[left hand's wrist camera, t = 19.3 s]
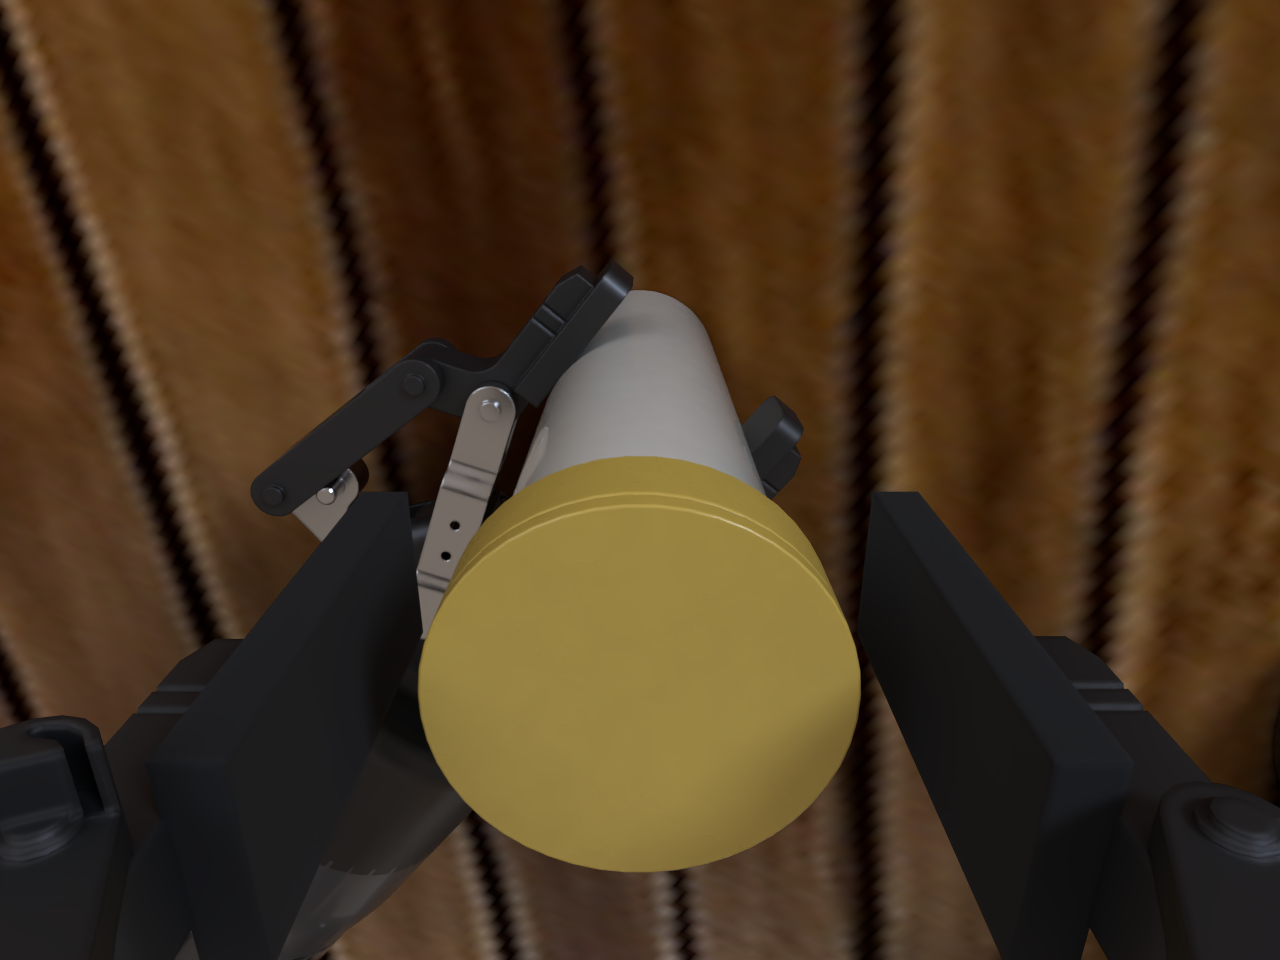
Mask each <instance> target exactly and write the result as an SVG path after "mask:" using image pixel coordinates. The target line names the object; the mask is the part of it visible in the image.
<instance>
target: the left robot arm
mask: <svg viewBox="0 0 1280 960" xmlns="http://www.w3.org/2000/svg"><path fill="white" fill-rule="evenodd" d="M422 634H423V625H422V617H421V608H420V599H419V590H418V581H417V573H416V564H415V555H414V546H413V537H412V529H411V520H410V511H409V502H408V493H407V492H361V494H360V495H359V496H358V497H357V499H356V500H355V501H354V502H353V504H352V505H351V506H350V507H349V509H348V510H347V511H346V512H345V514H344V515H343V516H342V517H341V519H340V520H339V521H338V522H337V524H336V525H335V526H334V527H333V529H332V530H331V531H330V532H329V534H328V535H327V536H326V537H325V539H324V540H323V541H322V542H321V544H320V545H319V546H318V547H317V549H316V550H315V551H314V552H313V554H312V555H311V556H310V557H309V559H308V560H307V561H306V562H305V563H304V565H303V566H302V567H301V568H300V570H299V571H298V572H297V573H296V575H295V576H294V577H293V578H292V580H291V581H290V582H289V583H288V585H287V586H286V587H285V588H284V590H283V591H282V592H281V593H280V595H279V596H278V597H277V598H276V600H275V601H274V602H273V603H272V605H271V606H270V607H269V608H268V610H267V611H266V612H265V613H264V615H263V616H262V617H261V618H260V620H259V621H258V622H257V623H256V625H255V626H254V627H253V628H252V630H251V631H250V632H249V633H248V635H247V636H246V637H245V638H244V639H214V640H213V641H211V642H210V643H208V644H206V645H205V646H203V647H202V648H200V649H198V650H197V651H195V652H194V653H192V654H190V655H189V656H187V657H186V658H184V659H183V660H181V661H180V662H179V663H178V664H177V665H176V666H175V667H174V668H173V670H172V671H171V672H170V673H169V674H168V675H167V676H166V677H165V679H164V680H163V681H162V682H161V683H160V684H159V685H158V686H157V692H152V693H151V694H150V695H149V697H148V698H147V699H146V700H145V701H144V702H143V703H142V704H141V706H140V707H139V708H138V713H137V714H133V715H132V716H131V717H130V718H129V719H128V720H127V721H126V722H125V723H124V725H123V726H122V727H121V728H120V729H119V730H118V731H117V732H116V734H115V735H114V736H113V737H112V738H111V739H110V740H109V741H108V743H107V744H106V745H105V746H104V745H103V742H102V739H101V735H100V732H99V728H98V727H96V726H95V725H94V724H92V723H91V722H89V721H88V720H86V719H85V718H78V717H71V716H64V715H61V716H52V717H44V718H35V719H31V720H27V721H24V722H20V723H17V724H14V725H10V726H7V727H4V728H0V960H174V959H175V958H176V956H177V954H178V952H179V951H180V949H181V947H182V945H183V944H184V942H185V940H186V938H187V937H188V935H189V933H190V931H192V935H193V938H194V942H195V945H196V949H197V953H198V956H199V960H278V957H279V955H280V953H281V951H282V948H283V946H284V944H285V942H286V939H287V937H288V935H289V933H290V930H291V928H292V926H293V924H294V921H295V919H296V917H297V915H298V912H299V910H300V908H301V906H302V903H303V901H304V899H305V897H306V894H307V892H308V890H309V888H310V885H311V883H312V881H313V879H314V876H315V874H316V872H317V870H318V867H319V865H320V863H321V861H322V858H323V856H324V854H325V852H326V849H327V847H328V845H329V843H330V840H331V838H332V836H333V834H334V831H335V829H336V827H337V825H338V823H339V820H340V818H341V816H342V814H343V811H344V809H345V807H346V805H347V802H348V800H349V798H350V796H351V793H352V791H353V789H354V787H355V784H356V782H357V780H358V778H359V775H360V773H361V771H362V769H363V766H364V764H365V762H366V760H367V757H368V755H369V753H370V751H371V748H372V746H373V744H374V742H375V739H376V737H377V735H378V733H379V730H380V728H381V726H382V724H383V721H384V719H385V717H386V715H387V712H388V710H389V708H390V706H391V703H392V701H393V699H394V697H395V694H396V692H397V690H398V688H399V685H400V683H401V681H402V679H403V676H404V674H405V672H406V670H407V667H408V665H409V663H410V661H411V658H412V656H413V654H414V652H415V649H416V647H417V645H418V643H419V640H420V638H421V636H422ZM857 634H858V636H859V638H860V640H861V643H862V645H863V647H864V649H865V652H866V654H867V656H868V658H869V661H870V663H871V665H872V667H873V670H874V672H875V674H876V676H877V679H878V681H879V683H880V685H881V688H882V690H883V692H884V694H885V697H886V699H887V701H888V703H889V706H890V708H891V710H892V712H893V715H894V717H895V719H896V721H897V724H898V726H899V728H900V730H901V733H902V735H903V737H904V739H905V742H906V744H907V746H908V748H909V751H910V753H911V755H912V757H913V760H914V762H915V764H916V766H917V769H918V771H919V773H920V775H921V778H922V780H923V782H924V784H925V787H926V789H927V791H928V793H929V796H930V798H931V800H932V802H933V805H934V807H935V809H936V811H937V814H938V816H939V818H940V820H941V823H942V825H943V827H944V829H945V832H946V834H947V836H948V838H949V840H950V843H951V845H952V847H953V849H954V852H955V854H956V856H957V858H958V861H959V863H960V865H961V867H962V870H963V872H964V874H965V876H966V879H967V881H968V883H969V885H970V888H971V890H972V892H973V894H974V897H975V899H976V901H977V903H978V906H979V908H980V910H981V912H982V915H983V917H984V919H985V921H986V924H987V926H988V928H989V930H990V933H991V935H992V937H993V939H994V942H995V944H996V946H997V948H998V951H999V953H1000V955H1001V957H1002V960H1081V956H1082V953H1083V949H1084V945H1085V942H1086V938H1087V935H1088V931H1089V927H1090V929H1091V931H1092V932H1093V934H1094V936H1095V937H1096V939H1097V941H1098V943H1099V944H1100V946H1101V948H1102V950H1103V951H1104V953H1105V955H1106V957H1107V958H1108V960H1280V808H1279V807H1277V806H1275V805H1273V804H1272V803H1270V802H1268V801H1266V800H1264V799H1262V798H1260V797H1259V796H1257V795H1254V794H1251V793H1248V792H1245V791H1242V790H1240V789H1237V788H1234V787H1231V786H1228V785H1224V784H1216V783H1212V782H1211V781H1210V780H1209V779H1208V778H1207V776H1206V775H1205V774H1204V773H1203V772H1202V771H1201V770H1200V769H1199V768H1198V766H1197V765H1196V764H1195V763H1194V762H1193V761H1192V760H1191V759H1190V758H1189V756H1188V755H1187V754H1186V753H1185V752H1184V751H1183V750H1182V749H1181V747H1180V746H1179V745H1178V744H1177V743H1176V742H1175V741H1174V740H1173V739H1172V737H1171V736H1170V735H1169V734H1168V733H1167V732H1166V731H1165V730H1164V729H1163V727H1162V726H1161V725H1160V724H1159V723H1158V722H1157V721H1156V720H1155V719H1154V717H1153V716H1152V715H1151V714H1150V713H1149V712H1148V711H1143V708H1142V707H1143V705H1142V704H1141V703H1140V702H1139V701H1138V700H1137V698H1136V697H1135V696H1134V695H1133V694H1132V693H1131V692H1130V691H1129V690H1128V689H1124V687H1123V683H1122V682H1121V681H1120V679H1119V678H1118V677H1117V676H1116V675H1115V674H1114V673H1113V672H1112V671H1111V669H1110V668H1109V667H1108V666H1107V665H1106V664H1105V663H1104V662H1103V661H1102V659H1101V658H1099V657H1098V656H1096V655H1094V654H1093V653H1091V652H1090V651H1088V650H1086V649H1085V648H1083V647H1082V646H1080V645H1078V644H1077V643H1075V642H1074V641H1072V640H1071V639H1069V638H1067V637H1066V636H1033V635H1032V633H1031V632H1030V631H1029V630H1028V628H1027V627H1026V626H1025V625H1024V623H1023V622H1022V621H1021V620H1020V618H1019V617H1018V616H1017V615H1016V613H1015V612H1014V611H1013V610H1012V608H1011V607H1010V606H1009V605H1008V603H1007V602H1006V601H1005V600H1004V598H1003V597H1002V596H1001V595H1000V593H999V592H998V591H997V590H996V588H995V587H994V586H993V585H992V583H991V582H990V581H989V580H988V578H987V577H986V576H985V575H984V573H983V572H982V571H981V570H980V568H979V567H978V566H977V565H976V563H975V562H974V561H973V560H972V559H971V557H970V556H969V555H968V554H967V552H966V551H965V550H964V549H963V547H962V546H961V545H960V544H959V542H958V541H957V540H956V539H955V537H954V536H953V535H952V534H951V532H950V531H949V530H948V529H947V527H946V526H945V525H944V524H943V522H942V521H941V520H940V519H939V517H938V516H937V515H936V514H935V512H934V511H933V510H932V509H931V507H930V506H929V505H928V504H927V502H926V501H925V500H924V499H923V497H922V496H921V495H920V494H919V492H873V493H872V502H871V511H870V520H869V529H868V537H867V546H866V555H865V564H864V573H863V581H862V590H861V599H860V608H859V617H858V625H857ZM1274 757H1275V765H1276V771H1277V775H1278V778H1279V782H1280V714H1279V718H1278V722H1277V726H1276V733H1275V741H1274Z"/></svg>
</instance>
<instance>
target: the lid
mask: <svg viewBox="0 0 1280 960" xmlns="http://www.w3.org/2000/svg"><path fill="white" fill-rule="evenodd" d="M860 698H861V682H860V667H859V662H858V657H857V652H856V646H855V644H854V641H853V638H852V635H851V633H850V630H849V627H848V624H847V622H846V619H845V617H844V615H843V612H842V610H841V608H840V606H839V603H838V601H837V599H836V596H835V594H834V592H833V589H832V587H831V585H830V583H829V580H828V578H827V576H826V573H825V571H824V569H823V566H822V564H821V562H820V560H819V558H818V556H817V555H816V553H815V551H814V549H813V547H812V545H811V544H810V542H809V540H808V539H807V538H806V537H805V535H804V534H803V533H802V531H801V530H800V529H799V527H798V526H797V525H796V523H795V522H794V521H793V520H792V519H791V518H790V517H789V516H788V515H787V514H786V513H785V512H784V511H783V510H782V509H781V508H780V507H779V506H778V505H777V504H775V503H774V502H773V501H771V500H770V499H769V498H767V497H766V496H765V495H763V494H762V493H761V492H759V491H758V490H757V489H755V488H753V487H751V486H749V485H748V484H746V483H744V482H742V481H741V480H739V479H737V478H735V477H733V476H731V475H728V474H726V473H723V472H721V471H718V470H716V469H713V468H711V467H708V466H704V465H700V464H696V463H693V462H689V461H685V460H680V459H672V458H664V457H657V456H623V457H614V458H606V459H598V460H594V461H590V462H586V463H582V464H578V465H574V466H571V467H568V468H566V469H563V470H560V471H558V472H555V473H553V474H550V475H547V476H546V477H544V478H542V479H540V480H538V481H536V482H534V483H533V484H531V485H529V486H527V487H525V488H524V489H522V490H521V491H520V492H518V493H517V494H515V495H514V496H513V497H511V498H510V499H508V500H507V501H506V502H504V503H503V504H502V505H501V506H500V507H499V508H498V509H497V510H496V511H495V512H494V513H493V514H492V515H491V516H490V517H489V518H487V519H486V520H485V522H484V523H483V524H482V526H481V527H480V528H479V529H478V531H477V532H476V533H475V534H474V536H473V537H472V538H471V540H470V541H469V543H468V545H467V547H466V548H465V550H464V552H463V554H462V555H461V557H460V559H459V561H458V563H457V566H456V568H455V570H454V572H453V575H452V577H451V579H450V582H449V584H448V586H447V589H446V591H445V593H444V595H443V598H442V600H441V602H440V605H439V607H438V609H437V611H436V614H435V616H434V618H433V621H432V623H431V626H430V629H429V631H428V634H427V636H426V639H425V642H424V645H423V650H422V654H421V659H420V664H419V671H418V701H419V710H420V717H421V721H422V725H423V729H424V732H425V736H426V740H427V742H428V745H429V747H430V749H431V751H432V754H433V756H434V758H435V761H436V763H437V764H438V766H439V768H440V769H441V771H442V772H443V774H444V776H445V777H446V779H447V780H448V782H449V784H450V785H451V786H452V787H453V788H454V790H455V791H456V792H457V793H458V794H459V796H460V797H461V798H462V799H463V801H464V802H465V803H466V804H467V805H469V806H470V807H471V808H472V809H473V810H474V811H475V812H476V813H477V814H478V815H479V816H480V817H481V818H482V819H484V820H485V821H486V822H488V823H489V824H490V825H492V826H493V827H495V828H496V829H497V830H499V831H500V832H501V833H503V834H504V835H506V836H508V837H510V838H511V839H513V840H515V841H517V842H518V843H520V844H522V845H524V846H526V847H528V848H530V849H532V850H535V851H537V852H539V853H542V854H544V855H546V856H549V857H552V858H555V859H558V860H561V861H564V862H568V863H571V864H574V865H579V866H584V867H589V868H594V869H599V870H608V871H618V872H660V871H671V870H679V869H684V868H689V867H695V866H700V865H704V864H707V863H711V862H714V861H717V860H721V859H724V858H727V857H730V856H732V855H734V854H737V853H739V852H742V851H744V850H746V849H749V848H751V847H753V846H755V845H756V844H758V843H760V842H762V841H764V840H765V839H767V838H769V837H771V836H773V835H774V834H776V833H777V832H778V831H780V830H781V829H783V828H784V827H785V826H787V825H788V824H790V823H791V822H792V821H794V820H795V819H796V818H797V817H798V816H799V815H800V814H801V813H803V812H804V811H805V810H806V809H807V808H808V807H809V806H810V805H811V804H812V803H813V802H814V801H815V800H816V799H817V797H818V796H819V795H820V794H821V793H822V791H823V790H824V789H825V788H826V787H827V786H828V784H829V783H830V781H831V779H832V778H833V776H834V775H835V773H836V772H837V770H838V769H839V767H840V765H841V763H842V761H843V759H844V757H845V755H846V753H847V750H848V748H849V746H850V744H851V741H852V737H853V734H854V730H855V727H856V723H857V720H858V713H859V706H860Z"/></svg>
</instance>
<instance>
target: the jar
mask: <svg viewBox="0 0 1280 960" xmlns="http://www.w3.org/2000/svg"><path fill="white" fill-rule="evenodd" d="M623 456H657V457H664V458H672V459H680V460H685V461H689V462H693V463H696V464H700V465H704V466H708V467H711V468H713V469H716V470H718V471H721V472H723V473H726V474H728V475H731V476H733V477H735V478H737V479H739V480H741V481H742V482H744V483H746V484H748V485H749V486H751V487H753V488H755V489H757V490H758V491H759V492H761V493H762V494H763V495H765V496H766V493H765V491H764V488H763V485H762V482H761V480H760V477H759V474H758V471H757V469H756V466H755V463H754V460H753V457H752V455H751V452H750V449H749V446H748V444H747V441H746V438H745V435H744V433H743V430H742V427H741V424H740V421H739V419H738V416H737V413H736V410H735V408H734V405H733V402H732V399H731V397H730V394H729V391H728V388H727V385H726V383H725V380H724V377H723V374H722V372H721V369H720V366H719V363H718V361H717V358H716V355H715V352H714V349H713V347H712V344H711V341H710V339H709V336H708V333H707V331H706V330H705V328H704V326H703V324H702V323H701V322H700V320H699V319H698V318H697V316H696V315H695V314H694V313H693V312H692V311H691V310H690V309H689V308H687V307H686V306H685V305H684V304H682V303H681V302H679V301H677V300H676V299H674V298H672V297H669V296H667V295H665V294H661V293H657V292H653V291H645V290H634V291H629V293H628V294H627V296H626V297H625V298H624V300H623V301H622V302H621V304H620V305H619V306H618V307H617V309H616V310H615V311H614V312H613V314H612V315H611V316H610V317H609V319H608V320H607V321H606V322H605V324H604V325H603V326H602V327H601V329H600V330H599V331H598V332H597V334H596V335H595V336H594V337H593V338H592V340H591V341H590V342H589V343H588V345H587V346H586V347H585V348H584V350H583V351H582V352H581V353H580V355H579V356H578V357H577V358H576V360H575V361H574V362H573V363H572V365H571V366H570V367H569V368H568V370H567V371H566V372H565V373H564V374H563V375H562V376H561V378H560V379H559V380H558V382H557V383H556V384H555V386H554V387H553V388H552V390H551V391H550V394H549V396H548V399H547V402H546V405H545V407H544V410H543V413H542V416H541V418H540V421H539V424H538V427H537V429H536V432H535V435H534V438H533V440H532V443H531V446H530V449H529V451H528V454H527V457H526V460H525V462H524V465H523V468H522V471H521V474H520V476H519V479H518V482H517V485H516V487H515V490H514V493H513V496H514V495H515V494H517V493H518V492H520V491H521V490H522V489H524V488H525V487H527V486H529V485H531V484H533V483H534V482H536V481H538V480H540V479H542V478H544V477H546V476H547V475H550V474H553V473H555V472H558V471H560V470H563V469H566V468H568V467H571V466H574V465H578V464H582V463H586V462H590V461H594V460H598V459H606V458H614V457H623ZM513 496H512V497H513ZM766 497H767V496H766Z"/></svg>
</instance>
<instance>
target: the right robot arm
mask: <svg viewBox="0 0 1280 960" xmlns="http://www.w3.org/2000/svg"><path fill="white" fill-rule="evenodd" d="M632 286H633V276H631V275H630V274H629V273H628V272H627V271H625V270H624V269H623V268H622V267H621V266H619V265H618V264H617V263H616V262H614V261H613V260H610V262H609V263H608V264H607V265H606V266H605V267H604V269H603V270H602V271H601V272H600V274H599V275H598V276H597V278H596V277H595V276H594V275H593V274H591V273H590V272H589V271H588V270H587V269H585V268H584V267H583V266H582V265H581V266H579V267H577V268H575V269H574V270H572V271H570V272H568V273H567V274H565V275H563V276H562V277H561V279H560V280H559V281H558V283H557V284H556V285H555V286H554V288H553V289H552V290H551V292H550V293H549V294H548V296H547V297H546V298H545V300H544V301H543V302H542V303H541V305H540V306H539V307H538V309H537V310H536V311H535V313H534V314H533V315H532V316H531V318H530V319H529V320H528V322H527V323H526V324H525V326H524V327H523V328H522V330H521V331H520V332H519V333H518V335H517V336H516V337H515V339H514V340H513V341H512V343H511V344H510V345H509V346H508V348H507V349H506V350H505V351H504V352H502V353H501V354H499V355H497V356H495V357H491V358H478V357H475V356H472V355H469V354H466V353H463V352H460V351H457V350H456V349H455V347H454V346H453V345H452V344H451V343H449V342H448V341H446V340H444V339H441V338H430V339H427V340H425V341H423V342H422V343H421V344H419V345H418V346H417V347H416V348H414V349H413V350H412V351H411V352H409V353H408V354H407V355H406V356H404V357H403V358H402V359H401V360H399V361H398V362H397V363H396V364H394V365H393V366H392V367H391V368H389V369H388V370H387V371H386V372H384V373H383V374H382V375H381V376H379V377H378V378H377V379H376V380H374V381H373V382H372V383H371V384H369V385H368V386H367V387H366V388H364V389H363V390H362V391H361V392H359V393H358V394H357V395H356V396H354V397H353V398H352V399H351V400H349V401H348V402H347V403H346V404H344V405H343V406H342V407H341V408H339V409H338V410H337V411H336V412H334V413H333V414H332V415H331V416H329V417H328V418H327V419H326V420H324V421H323V422H322V423H321V424H319V425H318V426H317V427H316V428H314V429H313V430H312V431H311V432H309V433H308V434H307V435H306V436H304V437H303V438H302V439H301V440H299V441H298V442H297V443H296V444H294V445H293V446H292V447H291V448H290V449H289V450H288V451H286V452H285V453H284V454H283V455H282V456H281V457H279V458H278V459H277V460H276V461H275V462H274V463H272V464H271V465H270V466H269V467H268V468H267V469H266V470H264V471H263V472H262V473H261V474H260V475H259V476H258V477H257V478H255V480H254V481H253V483H252V485H251V497H252V499H253V501H254V503H255V504H256V506H257V507H258V508H259V509H260V510H262V511H263V512H265V513H267V514H269V515H273V516H285V515H288V514H290V513H291V512H292V513H293V514H294V515H295V516H296V517H297V518H298V519H299V520H300V521H301V522H302V523H303V524H304V525H305V526H306V527H307V528H308V529H309V530H310V531H311V532H312V533H313V534H314V535H315V536H316V537H317V538H318V539H319V540H320V541H321V542H322V541H323V540H324V539H325V537H326V536H327V535H328V534H329V532H330V531H331V530H332V529H333V527H334V526H335V525H336V524H337V522H338V521H339V520H340V519H341V517H342V516H343V515H344V514H345V512H346V511H347V510H348V509H349V507H350V506H351V505H352V504H353V502H354V501H355V500H356V499H357V497H358V495H359V493H360V492H361V491H362V489H363V488H364V487H365V486H366V484H367V482H368V479H369V472H368V468H367V466H366V464H365V463H364V461H363V460H362V459H361V458H362V457H364V456H365V455H366V454H368V453H369V452H370V451H371V450H373V449H374V448H375V447H377V446H378V445H379V444H380V443H382V442H383V441H384V440H386V439H387V438H388V437H389V436H391V435H392V434H393V433H395V432H396V431H397V430H398V429H400V428H401V427H402V426H404V425H405V424H406V423H407V422H409V421H410V420H411V419H413V418H414V417H415V416H417V415H418V414H419V413H420V412H422V411H423V410H424V409H426V408H427V407H429V408H432V409H436V410H439V411H442V412H445V413H448V414H451V415H454V416H457V417H460V418H462V420H461V423H460V427H459V431H458V434H457V438H456V441H455V445H454V448H453V452H452V455H451V459H450V462H449V465H448V467H447V470H446V472H445V475H444V477H443V480H442V483H441V486H440V490H439V493H438V497H437V499H433V500H429V501H425V502H421V503H416V504H412V505H409V511H410V520H411V529H412V537H413V546H414V555H415V564H416V573H417V581H418V590H419V599H420V608H421V617H422V625H423V634H422V636H421V638H420V640H419V643H418V645H417V647H416V649H415V652H414V654H413V656H412V658H411V661H410V663H409V665H408V667H407V670H406V672H405V674H404V676H403V679H402V681H401V683H400V685H399V688H398V690H397V692H396V694H395V697H394V699H393V701H392V703H391V706H390V708H389V710H388V712H387V715H386V717H385V719H384V721H383V724H382V726H381V728H380V730H379V733H378V735H377V737H376V739H375V742H374V744H373V746H372V748H371V751H370V753H369V755H368V757H367V760H366V762H365V764H364V766H363V769H362V771H361V773H360V775H359V778H358V780H357V782H356V784H355V787H354V789H353V791H352V793H351V796H350V798H349V800H348V802H347V805H346V807H345V809H344V811H343V814H342V816H341V818H340V820H339V823H338V825H337V827H336V829H335V831H334V834H333V836H332V838H331V840H330V843H329V845H328V847H327V849H326V852H325V854H324V856H323V858H322V861H321V863H320V865H319V867H318V870H317V872H316V874H315V876H314V879H313V881H312V883H311V885H310V888H309V890H308V892H307V894H306V897H305V899H304V901H303V903H302V906H301V908H300V910H299V912H298V915H297V917H296V919H295V921H294V924H293V926H292V928H291V930H290V933H289V935H288V937H287V939H286V942H285V944H284V946H283V948H282V951H281V953H280V955H279V957H278V960H319V959H320V958H321V957H322V956H323V955H324V954H325V953H326V952H327V951H328V950H329V949H330V947H331V946H332V945H333V944H334V943H335V942H336V941H337V940H338V939H339V938H340V937H341V936H342V935H343V934H344V933H345V932H346V931H347V930H348V929H349V928H351V927H352V926H354V925H355V924H356V923H358V922H359V921H361V920H362V919H363V918H365V917H366V916H367V915H369V914H370V913H371V912H372V911H374V910H375V909H376V908H378V907H379V906H380V905H381V904H382V903H383V902H384V901H385V900H386V899H387V898H388V897H389V896H390V895H391V894H392V893H393V892H394V891H395V890H396V889H397V888H398V887H399V886H400V885H401V884H402V883H403V882H404V881H405V880H406V879H407V878H408V877H409V876H410V875H411V874H412V873H413V872H414V871H415V870H416V868H417V867H418V866H419V865H420V864H421V863H422V862H423V861H424V860H425V859H426V858H427V857H428V856H429V855H430V854H431V853H432V852H433V851H434V850H435V849H436V848H437V847H438V846H439V844H440V843H441V842H442V841H443V840H444V839H445V838H446V837H447V836H448V835H449V834H450V833H451V832H452V831H453V830H454V829H455V828H456V827H457V826H458V825H459V824H460V822H461V821H462V820H463V819H464V818H465V817H466V816H467V815H468V814H469V813H470V812H471V811H472V810H473V809H472V808H471V807H470V806H469V805H467V804H466V803H465V802H464V801H463V799H462V798H461V797H460V796H459V794H458V793H457V792H456V791H455V790H454V788H453V787H452V786H451V785H450V784H449V782H448V780H447V779H446V777H445V776H444V774H443V772H442V771H441V769H440V768H439V766H438V764H437V763H436V761H435V758H434V756H433V754H432V751H431V749H430V747H429V745H428V742H427V740H426V736H425V732H424V729H423V725H422V721H421V717H420V710H419V701H418V671H419V664H420V659H421V654H422V650H423V645H424V642H425V639H426V636H427V634H428V631H429V629H430V626H431V623H432V621H433V618H434V616H435V614H436V611H437V609H438V607H439V605H440V602H441V600H442V598H443V595H444V593H445V591H446V589H447V586H448V584H449V582H450V579H451V577H452V575H453V572H454V570H455V568H456V566H457V563H458V561H459V559H460V557H461V555H462V554H463V552H464V550H465V548H466V547H467V545H468V543H469V541H470V540H471V538H472V537H473V536H474V534H475V533H476V532H477V531H478V529H479V528H480V527H481V526H482V524H483V523H484V522H485V520H486V519H487V518H489V517H490V516H491V515H492V514H493V513H494V512H495V511H496V510H497V509H498V508H499V507H500V506H501V505H502V504H503V503H504V502H506V501H507V500H508V499H510V497H509V496H508V495H506V494H505V493H503V492H502V491H501V490H500V491H499V492H498V493H497V495H496V492H497V488H498V485H499V482H500V479H501V475H502V472H503V469H504V466H505V463H506V459H507V456H508V453H509V449H510V444H511V441H512V438H513V434H514V431H515V428H516V425H517V422H518V418H519V415H520V414H521V413H522V412H523V410H524V409H525V408H526V407H527V405H528V404H529V403H531V404H532V405H533V406H535V407H536V408H537V407H538V406H539V405H540V403H541V402H542V401H543V400H544V398H545V397H546V396H547V395H548V393H549V392H550V391H551V390H552V388H553V387H554V386H555V384H556V383H557V382H558V380H559V379H560V378H561V376H562V375H563V374H564V373H565V372H566V371H567V370H568V368H569V367H570V366H571V365H572V363H573V362H574V361H575V360H576V358H577V357H578V356H579V355H580V353H581V352H582V351H583V350H584V348H585V347H586V346H587V345H588V343H589V342H590V341H591V340H592V338H593V337H594V336H595V335H596V334H597V332H598V331H599V330H600V329H601V327H602V326H603V325H604V324H605V322H606V321H607V320H608V319H609V317H610V316H611V315H612V314H613V312H614V311H615V310H616V309H617V307H618V306H619V305H620V304H621V302H622V301H623V300H624V298H625V297H626V296H627V294H628V293H629V291H630V290H631V288H632ZM741 427H742V430H743V433H744V435H745V438H746V441H747V444H748V446H749V449H750V452H751V455H752V457H753V460H754V463H755V466H756V469H757V471H758V474H759V477H760V480H761V482H762V485H763V488H764V491H765V493H766V496H767V498H769V499H770V500H772V499H773V497H774V496H775V495H776V494H777V492H778V491H780V490H781V489H782V488H783V487H784V486H785V485H786V484H787V483H788V482H789V481H790V480H791V479H792V478H793V477H794V475H795V472H796V470H797V467H798V465H799V463H800V460H801V458H802V457H801V455H800V453H799V451H798V449H797V447H796V444H797V442H798V441H799V439H800V437H801V436H802V433H803V426H802V424H801V422H800V421H799V419H798V417H797V416H796V414H795V412H794V411H792V410H791V409H790V408H789V407H788V406H786V405H785V404H784V403H783V402H782V401H780V400H779V399H778V398H777V397H776V396H771V397H769V398H768V399H767V400H765V401H764V402H763V403H762V404H761V405H760V406H759V407H758V409H757V410H756V411H755V412H754V413H753V414H752V415H751V416H750V417H749V418H748V420H747V421H746V422H745V423H744V424H743V425H742V426H741ZM495 495H496V496H495ZM174 960H199V956H198V953H197V949H196V945H195V942H194V938H193V935H192V931H190V933H189V935H188V937H187V938H186V940H185V942H184V944H183V945H182V947H181V949H180V951H179V952H178V954H177V956H176V958H175V959H174Z"/></svg>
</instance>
